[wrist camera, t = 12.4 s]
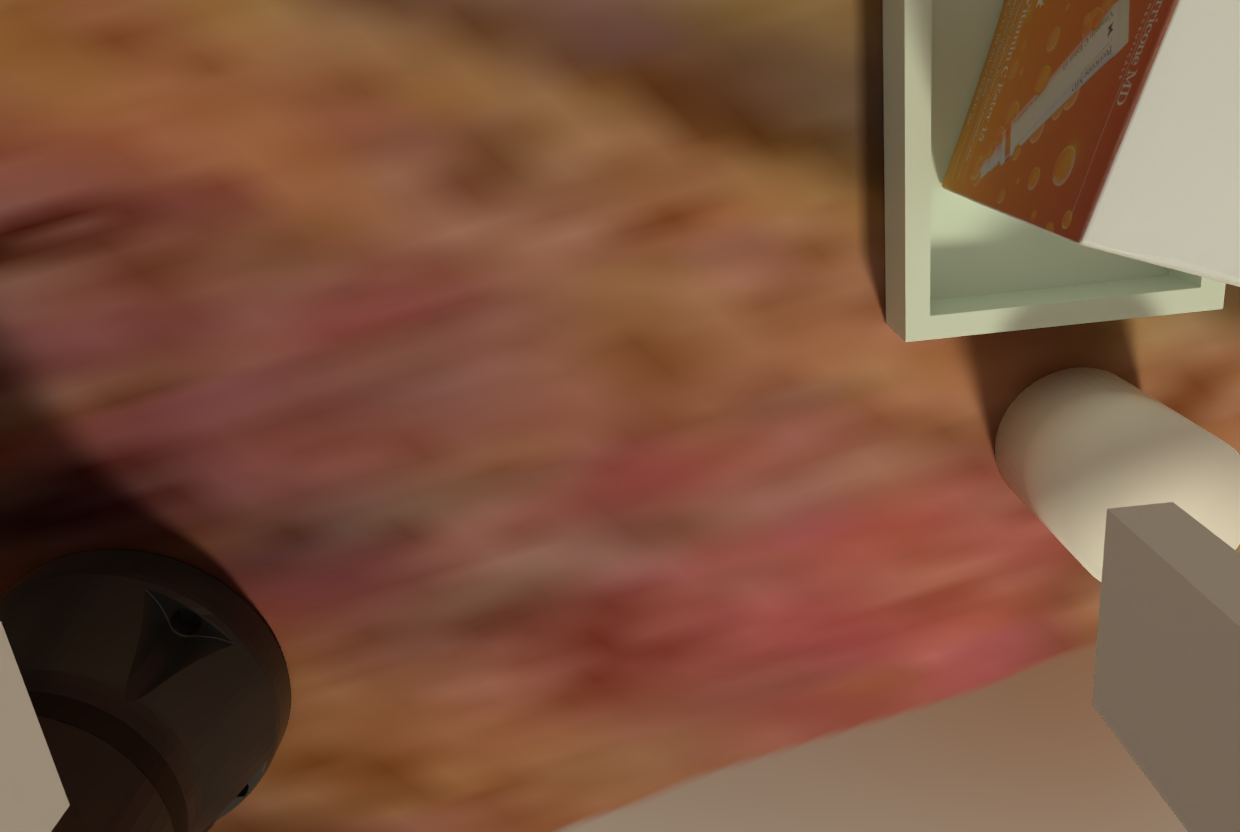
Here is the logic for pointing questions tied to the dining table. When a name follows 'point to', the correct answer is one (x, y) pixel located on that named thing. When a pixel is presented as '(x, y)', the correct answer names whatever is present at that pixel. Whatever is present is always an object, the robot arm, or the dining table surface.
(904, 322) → the tray
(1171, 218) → the small box
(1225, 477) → the cream capsule cylinder
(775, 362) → the dining table surface
